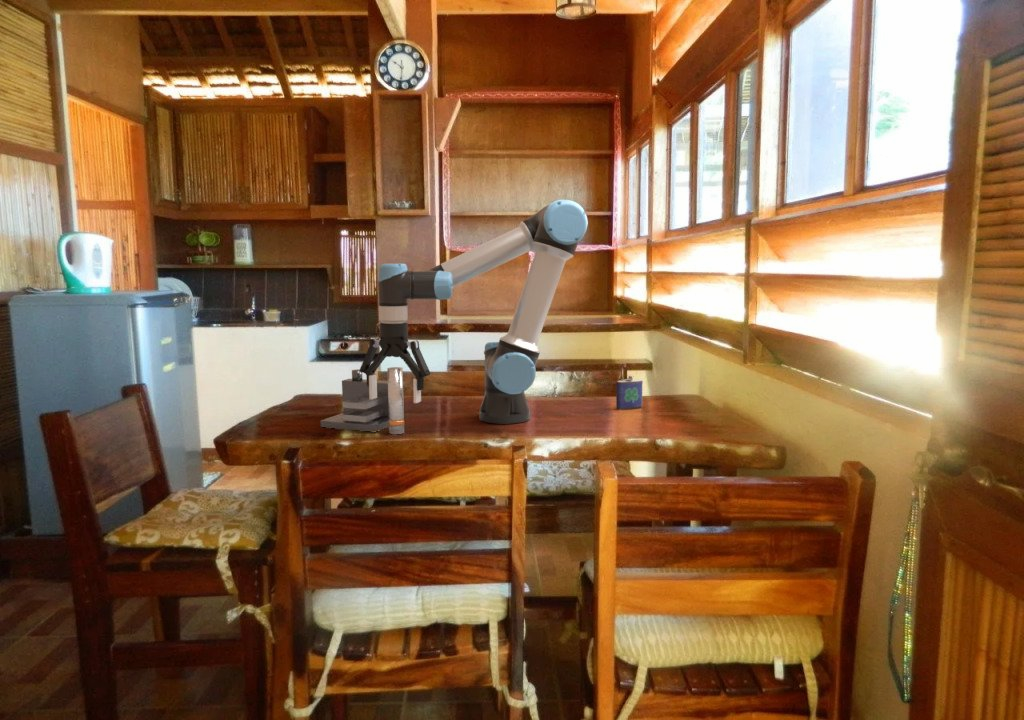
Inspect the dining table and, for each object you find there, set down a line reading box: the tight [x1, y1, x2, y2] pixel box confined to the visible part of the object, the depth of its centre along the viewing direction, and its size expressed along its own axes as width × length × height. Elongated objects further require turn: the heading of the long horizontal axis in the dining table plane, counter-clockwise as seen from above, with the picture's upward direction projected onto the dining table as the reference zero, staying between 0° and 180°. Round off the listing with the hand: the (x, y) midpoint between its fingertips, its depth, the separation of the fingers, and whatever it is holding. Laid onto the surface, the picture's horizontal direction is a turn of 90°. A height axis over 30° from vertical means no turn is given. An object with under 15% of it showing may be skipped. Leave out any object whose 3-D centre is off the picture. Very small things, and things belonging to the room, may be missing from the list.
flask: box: [615, 374, 644, 411], centre depth 216 cm, size 9×3×11 cm, turn 112°
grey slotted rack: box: [320, 368, 389, 432], centre depth 195 cm, size 18×14×15 cm
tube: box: [386, 366, 405, 434], centre depth 184 cm, size 4×4×18 cm
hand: (395, 400), depth 184 cm, fingers open, 13 cm apart
